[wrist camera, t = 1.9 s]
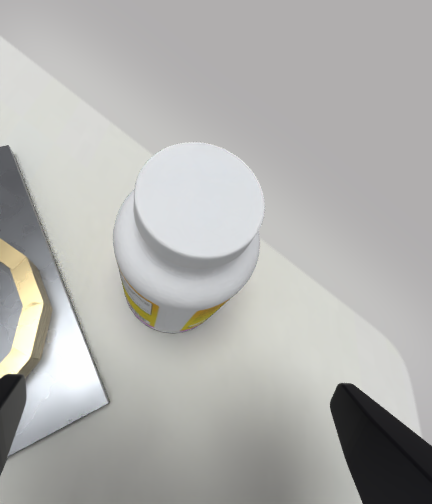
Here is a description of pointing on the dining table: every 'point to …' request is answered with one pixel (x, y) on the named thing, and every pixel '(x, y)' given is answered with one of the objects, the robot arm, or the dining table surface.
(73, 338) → the carrier plate
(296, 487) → the dining table surface
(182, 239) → the supplement bottle
